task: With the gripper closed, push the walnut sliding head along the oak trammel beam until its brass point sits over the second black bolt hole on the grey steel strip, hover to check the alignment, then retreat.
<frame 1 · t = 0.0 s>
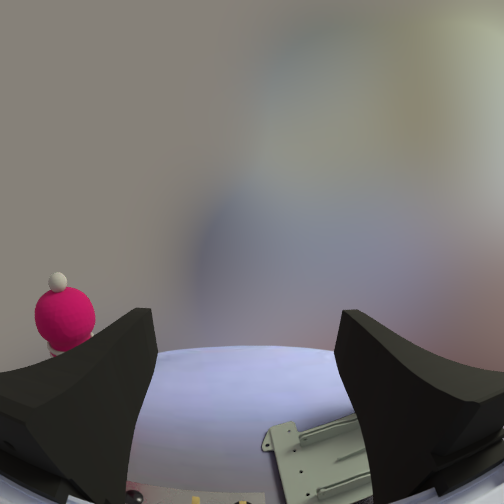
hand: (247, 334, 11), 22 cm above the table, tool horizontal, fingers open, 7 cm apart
pepper mill: (104, 435, 26), on the table
metal bracket: (338, 471, 23), on the table, touching plant pot
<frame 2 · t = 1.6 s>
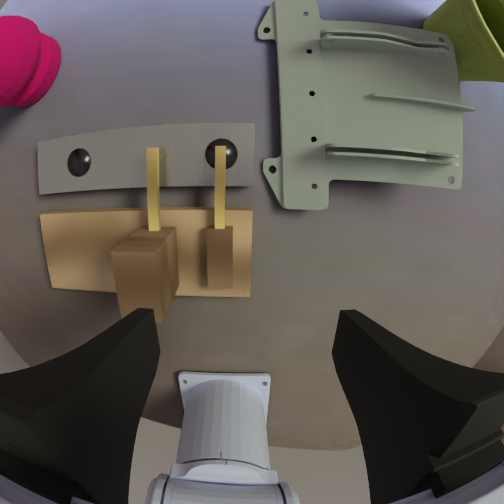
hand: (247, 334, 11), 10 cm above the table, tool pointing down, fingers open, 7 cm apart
pepper mill: (34, 71, 15), on the table
metal bracket: (365, 102, 18), on the table, touching plant pot
sliding head: (146, 228, 16), point 4 cm above the table, slide at 0.0 cm
plant pot: (445, 49, 16), on the table, touching metal bracket
bolt strip: (134, 157, 18), on the table
trammel beam: (139, 248, 20), on the table
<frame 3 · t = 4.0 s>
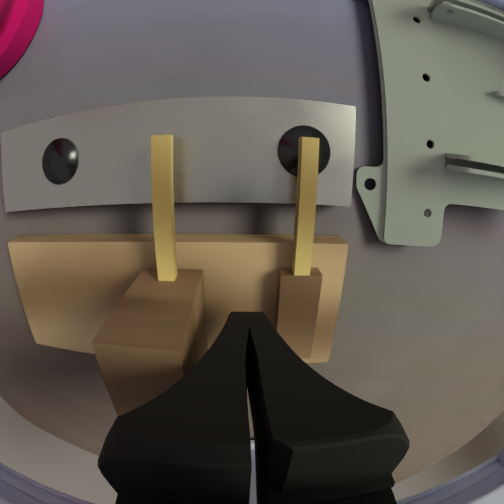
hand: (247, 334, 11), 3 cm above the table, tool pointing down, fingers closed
pepper mill: (7, 35, 8), on the table
metal bracket: (470, 99, 11), on the table, touching plant pot
sliding head: (154, 285, 9), point 4 cm above the table, slide at 0.9 cm, touching gripper
bolt strip: (151, 151, 11), on the table
trammel beam: (160, 296, 13), on the table
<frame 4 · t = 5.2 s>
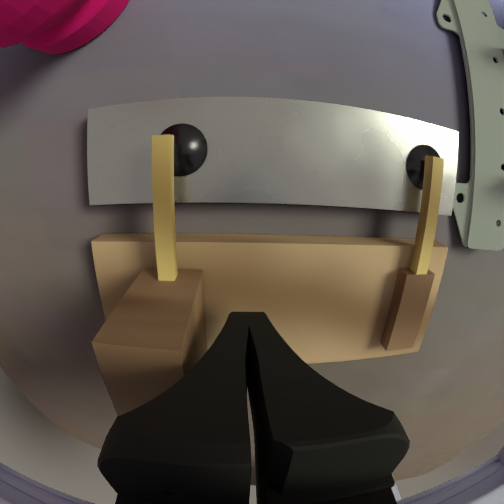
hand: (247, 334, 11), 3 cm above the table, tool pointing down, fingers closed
pepper mill: (81, 3, 8), on the table
sliding head: (155, 284, 9), point 4 cm above the table, slide at 6.3 cm, touching gripper
bolt strip: (285, 151, 11), on the table
trammel beam: (277, 298, 13), on the table
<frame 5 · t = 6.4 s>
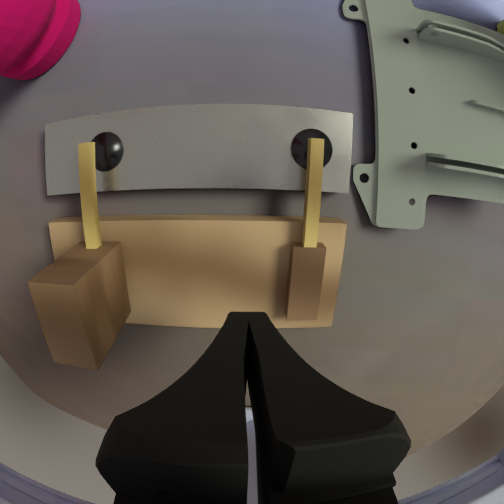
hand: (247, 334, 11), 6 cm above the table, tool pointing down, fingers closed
pepper mill: (43, 36, 11), on the table
metal bracket: (452, 106, 13), on the table, touching plant pot
sliding head: (76, 248, 11), point 4 cm above the table, slide at 6.4 cm
bolt strip: (186, 146, 14), on the table
trammel beam: (189, 268, 16), on the table
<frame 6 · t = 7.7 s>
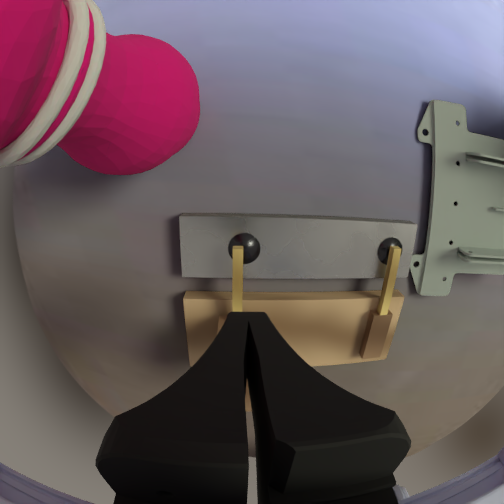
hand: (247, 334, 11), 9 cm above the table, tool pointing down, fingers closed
pepper mill: (152, 114, 17), on the table
metal bracket: (478, 202, 19), on the table, touching plant pot
sliding head: (237, 330, 17), point 4 cm above the table, slide at 6.4 cm
bolt strip: (304, 244, 20), on the table
trammel beam: (295, 327, 22), on the table
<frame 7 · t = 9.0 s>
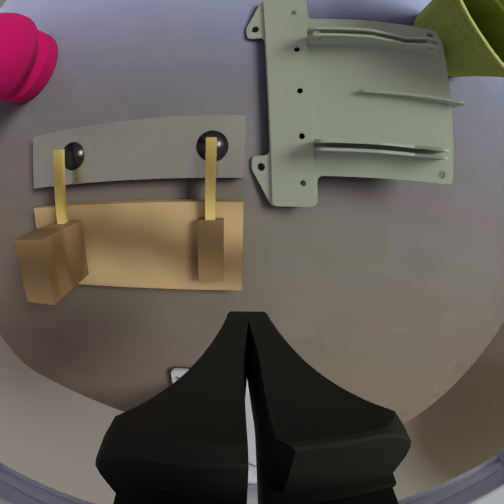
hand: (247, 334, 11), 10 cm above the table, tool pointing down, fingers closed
pepper mill: (31, 68, 15), on the table
metal bracket: (354, 99, 18), on the table, touching plant pot
sliding head: (48, 221, 15), point 4 cm above the table, slide at 6.4 cm
plant pot: (437, 45, 16), on the table, touching metal bracket
bolt strip: (127, 150, 18), on the table
trammel beam: (131, 241, 20), on the table
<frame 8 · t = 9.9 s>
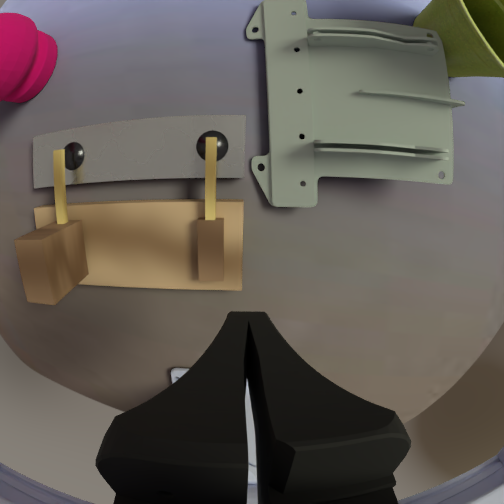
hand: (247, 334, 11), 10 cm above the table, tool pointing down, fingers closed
pepper mill: (31, 68, 15), on the table
metal bracket: (354, 99, 18), on the table, touching plant pot
sliding head: (48, 221, 15), point 4 cm above the table, slide at 6.4 cm
plant pot: (437, 45, 16), on the table, touching metal bracket
bolt strip: (127, 150, 18), on the table
trammel beam: (131, 241, 20), on the table
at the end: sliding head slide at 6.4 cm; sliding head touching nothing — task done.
